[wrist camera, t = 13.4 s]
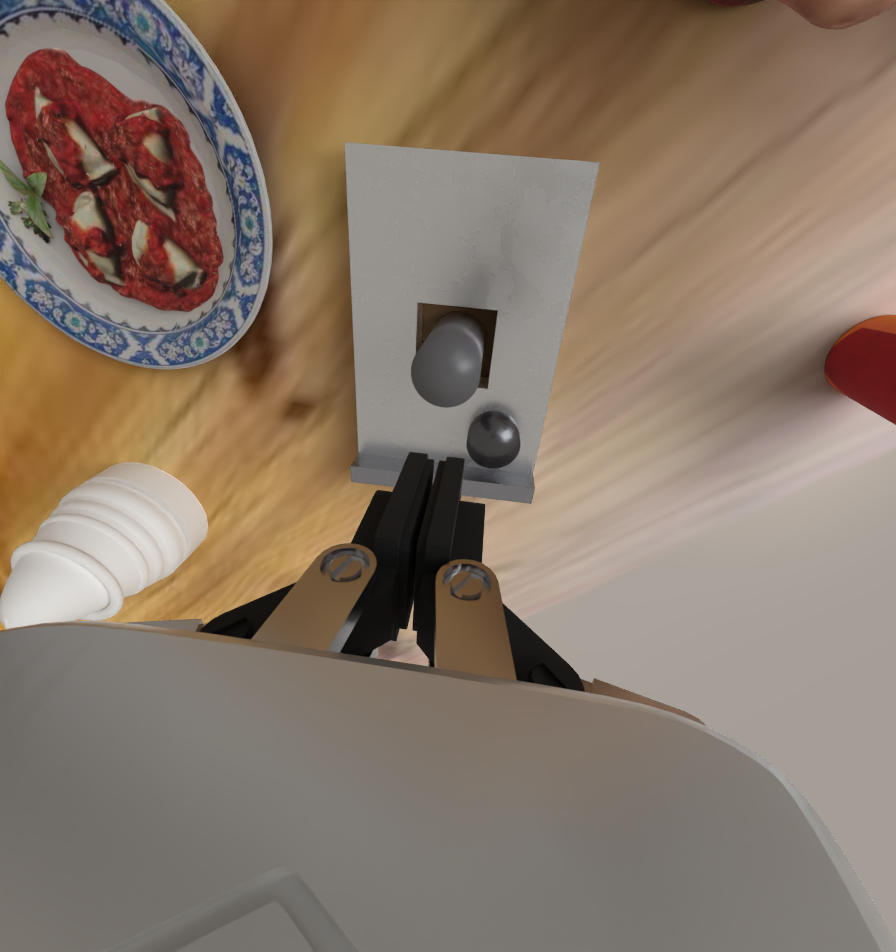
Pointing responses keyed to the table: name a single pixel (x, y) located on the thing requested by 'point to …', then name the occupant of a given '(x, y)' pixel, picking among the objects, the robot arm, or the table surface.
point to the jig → (460, 301)
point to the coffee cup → (867, 365)
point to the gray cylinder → (450, 360)
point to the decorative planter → (827, 10)
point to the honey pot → (103, 547)
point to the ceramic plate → (127, 182)
